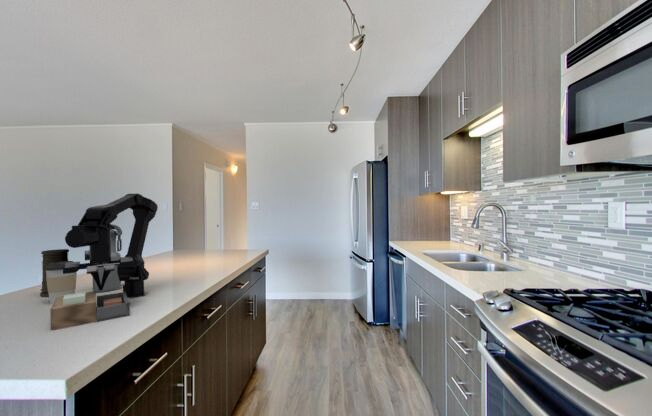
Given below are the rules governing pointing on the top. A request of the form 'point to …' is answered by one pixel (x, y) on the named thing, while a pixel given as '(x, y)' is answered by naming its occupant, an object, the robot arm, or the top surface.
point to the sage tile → (74, 298)
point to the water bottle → (113, 278)
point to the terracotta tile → (112, 301)
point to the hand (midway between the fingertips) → (100, 290)
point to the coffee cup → (59, 281)
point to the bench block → (73, 312)
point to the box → (112, 307)
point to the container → (48, 258)
